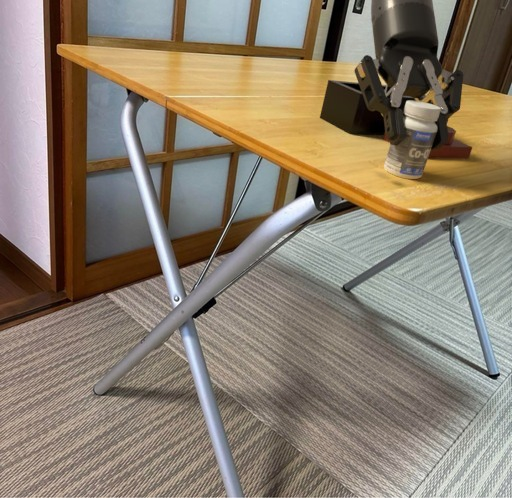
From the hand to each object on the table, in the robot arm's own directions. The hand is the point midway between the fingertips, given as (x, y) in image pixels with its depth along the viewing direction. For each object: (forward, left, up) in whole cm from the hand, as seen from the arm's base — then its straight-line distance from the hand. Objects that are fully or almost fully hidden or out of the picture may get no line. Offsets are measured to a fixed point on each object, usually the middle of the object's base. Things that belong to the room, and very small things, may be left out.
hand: (418, 143), depth 60 cm
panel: (-13, -11, -4) cm, 18 cm away
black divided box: (-11, -21, -4) cm, 24 cm away
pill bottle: (0, -1, -4) cm, 5 cm away
